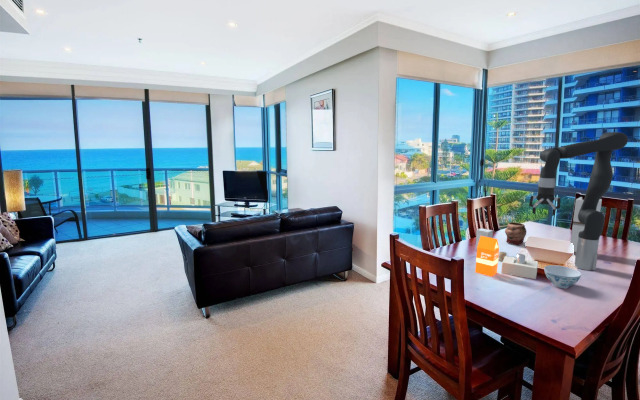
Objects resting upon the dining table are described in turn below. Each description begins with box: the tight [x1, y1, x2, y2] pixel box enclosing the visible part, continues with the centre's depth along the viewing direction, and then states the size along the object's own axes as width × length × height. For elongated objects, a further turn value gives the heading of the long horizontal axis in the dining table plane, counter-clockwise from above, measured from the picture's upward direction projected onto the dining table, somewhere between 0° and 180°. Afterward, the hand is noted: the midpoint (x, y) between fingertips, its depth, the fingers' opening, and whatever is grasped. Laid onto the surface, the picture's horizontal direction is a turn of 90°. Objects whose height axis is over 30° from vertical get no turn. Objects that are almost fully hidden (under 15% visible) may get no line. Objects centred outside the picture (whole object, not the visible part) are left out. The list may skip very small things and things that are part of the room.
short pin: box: [498, 251, 508, 263], centre depth 205 cm, size 4×4×5 cm
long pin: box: [515, 253, 526, 264], centre depth 186 cm, size 4×4×10 cm
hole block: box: [500, 256, 539, 280], centre depth 187 cm, size 16×12×6 cm
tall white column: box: [570, 196, 603, 256], centre depth 212 cm, size 11×11×35 cm
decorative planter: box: [504, 222, 527, 246], centre depth 238 cm, size 20×12×14 cm, turn 132°
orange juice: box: [474, 236, 500, 278], centre depth 186 cm, size 8×9×20 cm
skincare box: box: [475, 227, 494, 252], centre depth 219 cm, size 8×6×15 cm
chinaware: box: [543, 264, 582, 289], centre depth 170 cm, size 15×15×8 cm
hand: (543, 214), depth 191 cm, fingers open, 8 cm apart
